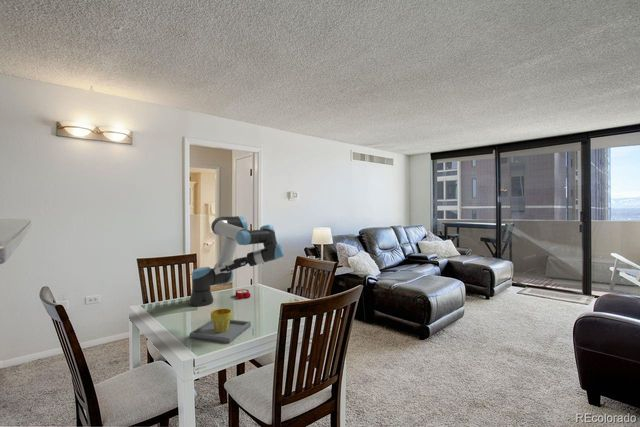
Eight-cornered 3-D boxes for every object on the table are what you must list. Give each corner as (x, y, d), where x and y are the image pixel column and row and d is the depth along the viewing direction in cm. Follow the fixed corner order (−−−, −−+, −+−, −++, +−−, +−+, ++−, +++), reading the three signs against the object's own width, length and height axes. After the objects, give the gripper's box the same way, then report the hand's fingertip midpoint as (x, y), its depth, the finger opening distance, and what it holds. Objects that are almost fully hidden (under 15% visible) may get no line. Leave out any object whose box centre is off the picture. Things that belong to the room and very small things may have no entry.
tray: (214, 322, 177) (214, 317, 177) (250, 326, 172) (250, 321, 172) (189, 338, 156) (189, 333, 156) (229, 343, 150) (229, 338, 150)
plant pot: (226, 334, 158) (226, 315, 157) (207, 333, 159) (206, 314, 159) (235, 327, 168) (235, 308, 168) (217, 325, 170) (216, 307, 169)
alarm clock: (247, 288, 236) (252, 288, 223) (247, 297, 235) (252, 298, 222) (233, 290, 232) (237, 290, 218) (233, 299, 230) (237, 299, 217)
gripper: (252, 270, 161) (213, 281, 162) (262, 259, 186) (227, 269, 187) (248, 256, 161) (209, 268, 161) (258, 247, 186) (224, 257, 186)
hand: (219, 268), depth 174 cm, fingers open, 13 cm apart
